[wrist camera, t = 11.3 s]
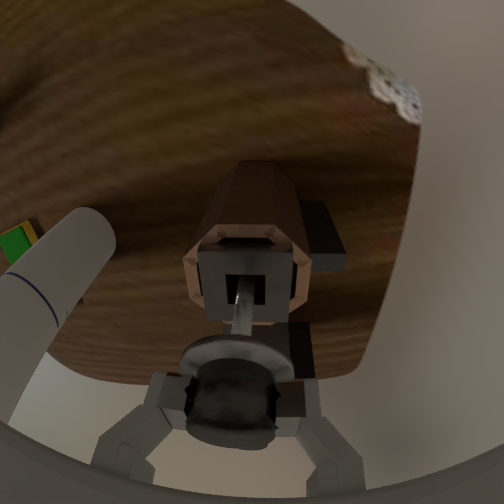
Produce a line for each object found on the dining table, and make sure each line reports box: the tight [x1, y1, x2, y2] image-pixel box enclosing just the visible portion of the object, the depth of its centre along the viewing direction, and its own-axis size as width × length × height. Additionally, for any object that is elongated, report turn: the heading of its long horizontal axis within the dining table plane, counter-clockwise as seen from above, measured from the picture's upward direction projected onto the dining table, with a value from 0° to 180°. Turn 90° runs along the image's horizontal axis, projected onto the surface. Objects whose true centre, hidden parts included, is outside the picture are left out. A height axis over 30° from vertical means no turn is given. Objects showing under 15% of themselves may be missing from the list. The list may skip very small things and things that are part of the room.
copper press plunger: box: [179, 240, 294, 448], centre depth 14 cm, size 4×4×12 cm
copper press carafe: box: [183, 161, 346, 325], centre depth 21 cm, size 7×9×13 cm
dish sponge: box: [0, 220, 38, 265], centre depth 32 cm, size 7×14×2 cm, turn 14°
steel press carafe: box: [222, 322, 315, 379], centre depth 28 cm, size 7×9×13 cm
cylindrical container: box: [0, 207, 116, 424], centre depth 19 cm, size 7×7×25 cm
